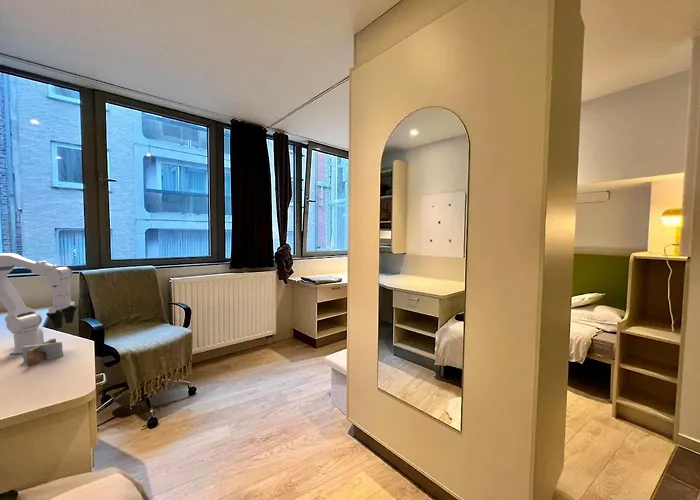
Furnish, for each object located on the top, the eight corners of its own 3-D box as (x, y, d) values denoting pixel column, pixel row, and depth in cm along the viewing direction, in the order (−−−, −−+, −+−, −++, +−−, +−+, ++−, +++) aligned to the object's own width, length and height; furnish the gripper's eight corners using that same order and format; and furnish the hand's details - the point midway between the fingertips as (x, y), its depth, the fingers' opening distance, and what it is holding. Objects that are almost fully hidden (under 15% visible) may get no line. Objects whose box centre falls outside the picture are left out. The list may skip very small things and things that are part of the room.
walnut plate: (52, 352, 129) (51, 339, 129) (56, 352, 130) (55, 338, 129) (28, 366, 116) (26, 351, 116) (33, 365, 116) (31, 350, 116)
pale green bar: (26, 360, 122) (25, 345, 122) (63, 356, 125) (61, 341, 125) (23, 361, 120) (22, 347, 120) (60, 357, 124) (59, 343, 123)
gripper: (62, 297, 127) (64, 329, 128) (81, 291, 141) (84, 319, 141) (41, 298, 125) (44, 331, 126) (63, 292, 139) (65, 321, 139)
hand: (64, 325), depth 133 cm, fingers open, 7 cm apart
